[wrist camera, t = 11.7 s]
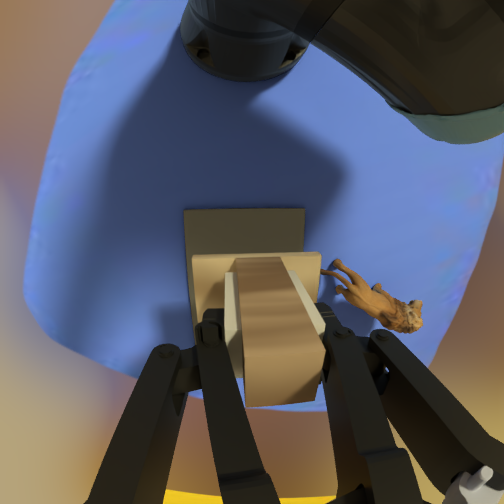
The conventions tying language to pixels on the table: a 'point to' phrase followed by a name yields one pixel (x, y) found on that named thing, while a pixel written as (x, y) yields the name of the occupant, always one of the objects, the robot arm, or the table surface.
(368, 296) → the lion figurine
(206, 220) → the taupe mat
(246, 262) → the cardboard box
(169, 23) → the table surface
